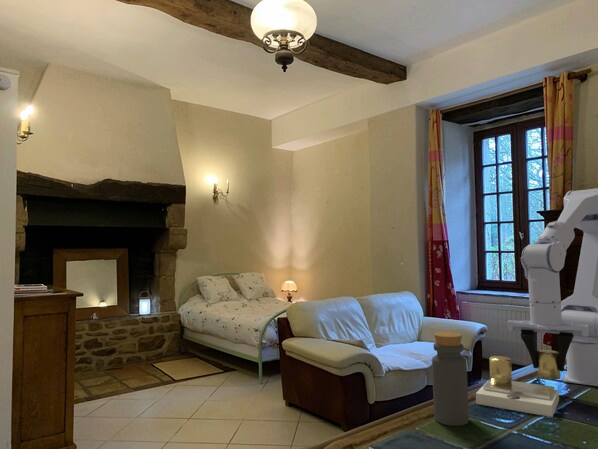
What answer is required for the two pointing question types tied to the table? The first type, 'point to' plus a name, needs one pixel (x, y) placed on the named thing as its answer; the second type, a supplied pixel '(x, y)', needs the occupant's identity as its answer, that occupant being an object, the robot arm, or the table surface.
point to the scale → (518, 402)
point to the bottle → (450, 380)
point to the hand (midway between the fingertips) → (548, 368)
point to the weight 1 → (500, 371)
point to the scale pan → (523, 389)
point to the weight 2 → (548, 364)
